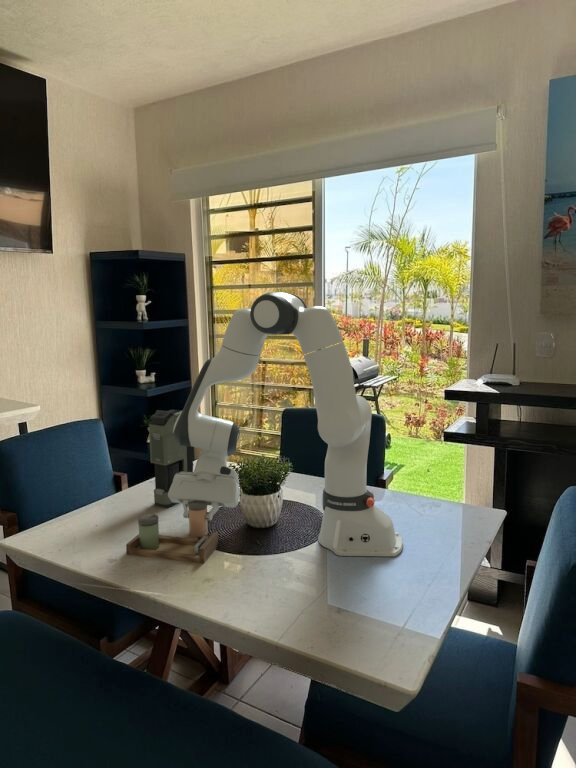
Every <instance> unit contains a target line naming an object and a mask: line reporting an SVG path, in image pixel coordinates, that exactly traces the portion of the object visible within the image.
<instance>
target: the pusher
mask: <svg viewBox="0 0 576 768" xmlns="http://www.w3.org/2000/svg"><path fill="white" fill-rule="evenodd" d="M208 538H209V536H208V535H206V536H205V535H204V536H203V537H200V538H199V539H200V540H199V542H198V543H197V544H196V545H195V546H194V547H195V555H199V548H200V547H201V546H202V545H203V544H204V542H205V541H206V540H207V539H208Z"/></svg>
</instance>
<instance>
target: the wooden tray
mask: <svg viewBox="0 0 576 768" xmlns="http://www.w3.org/2000/svg"><path fill="white" fill-rule="evenodd" d="M200 539H201V538H193V537H192V538H190V537H180V536H171V535H161V534H159V548H158V549H157V550H148V549H140V544H139V533H138V534H136V536H134V537H133V538H131V540H130V541H128V542H127V543H126V546H125V548H126V556H128V555H129V556H135V557H146V558H153V559H163V560H170V561H180V562H189V563H196V564H197V563H198V564H205V563H206V562H207V560H208V559H209V558H210V557H211V556H212V554H213V553H214V552H215V551H216V549H217V548H218V547H219V532H217V531H213V532H212V533H211V534H210V536H208V539H207V540H206V541H205V542H204V544H203V545H202V546H201V547H200V548H199V555H195V547H194V546H195V545H196V544H197V543H198V542H199V540H200Z"/></svg>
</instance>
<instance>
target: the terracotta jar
mask: <svg viewBox="0 0 576 768" xmlns="http://www.w3.org/2000/svg"><path fill="white" fill-rule="evenodd" d="M188 510H189V518H188V526H189V528H188V530H189V536H190V537H192V538H202V537H203V536H204V535H205V536H208V534H209V533H208V532H209V530H208V520H206V519H205V516H206V512H208V505H207V502H205V501H191V502H189V503H188Z"/></svg>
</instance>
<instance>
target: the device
mask: <svg viewBox="0 0 576 768" xmlns="http://www.w3.org/2000/svg"><path fill="white" fill-rule="evenodd" d="M181 412H182V410H179V409H168V410H161V409H157V410H155V413H154V414H153V415H151V416H150V418H149V420H150V422H149V424H148V429H149V430H148V431H149V433H148V434H149V452H150V454H149V455H150V460H149V461H150V464H154V481H155V482H154V483H155V484H154V486H155V488H154V490H153V497H154V498H153V499H154V501H153V502H154V506H155V507H159V508H163V509H168V508H172V507H175V506H176V505H178V504H179V503H175V502H172V501H171V500H170V499H169V497H168V492H169V489H170V487H171V485H172V483H173V479H174V476H175V474H177V473H180V472H181V471H184V472H194V462H193V461H194V460H193V459H194V458H193V448H194V447H189V446H182V445H180V444H179V443H178V442H177V441H176V439H175V438H174V436H173V428H174V424H175V422H176V420H177V418H178V416H179V415H180V413H181Z"/></svg>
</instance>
